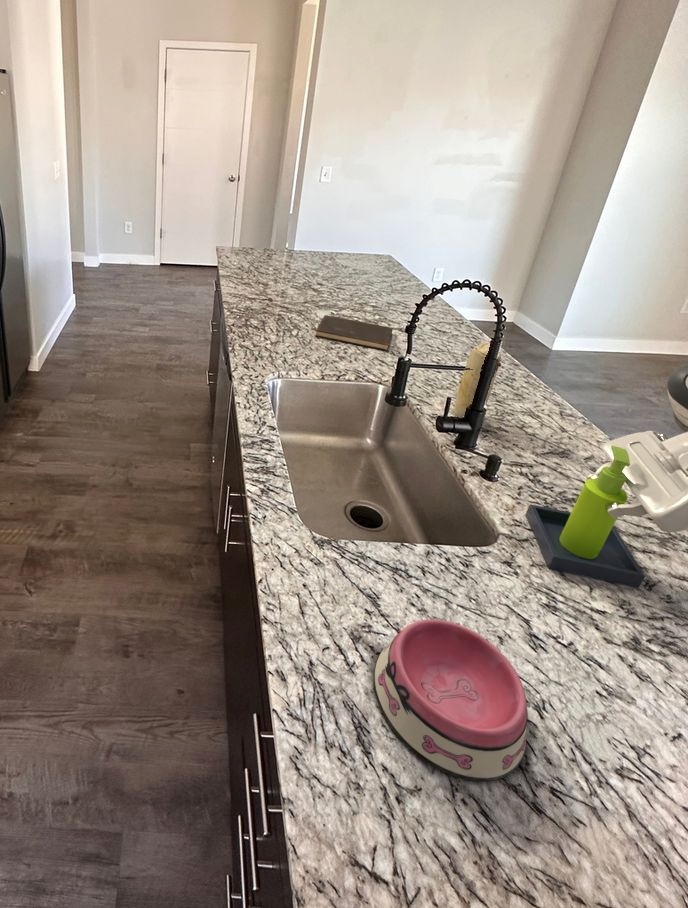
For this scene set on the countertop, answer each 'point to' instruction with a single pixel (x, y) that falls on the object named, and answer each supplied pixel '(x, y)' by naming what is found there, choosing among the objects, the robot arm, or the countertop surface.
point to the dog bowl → (453, 700)
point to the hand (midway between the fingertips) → (598, 497)
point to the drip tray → (606, 566)
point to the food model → (472, 379)
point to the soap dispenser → (596, 509)
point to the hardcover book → (354, 332)
